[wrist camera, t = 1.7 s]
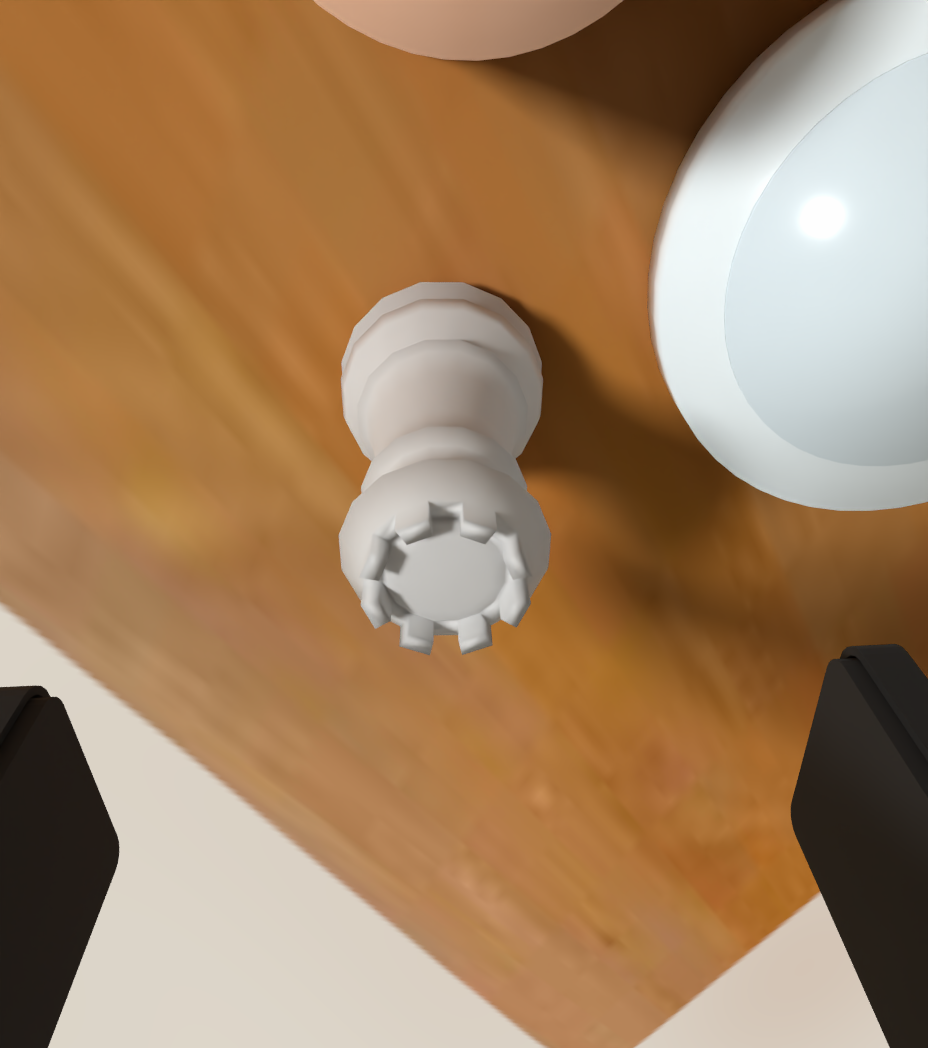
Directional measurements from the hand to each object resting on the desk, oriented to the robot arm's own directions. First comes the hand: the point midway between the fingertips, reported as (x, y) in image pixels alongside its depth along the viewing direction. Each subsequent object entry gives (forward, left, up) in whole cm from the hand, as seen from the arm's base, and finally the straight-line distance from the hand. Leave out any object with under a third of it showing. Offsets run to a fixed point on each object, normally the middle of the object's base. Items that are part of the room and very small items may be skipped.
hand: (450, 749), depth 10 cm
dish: (-3, +10, -10) cm, 15 cm away
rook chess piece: (-1, 0, -11) cm, 11 cm away
